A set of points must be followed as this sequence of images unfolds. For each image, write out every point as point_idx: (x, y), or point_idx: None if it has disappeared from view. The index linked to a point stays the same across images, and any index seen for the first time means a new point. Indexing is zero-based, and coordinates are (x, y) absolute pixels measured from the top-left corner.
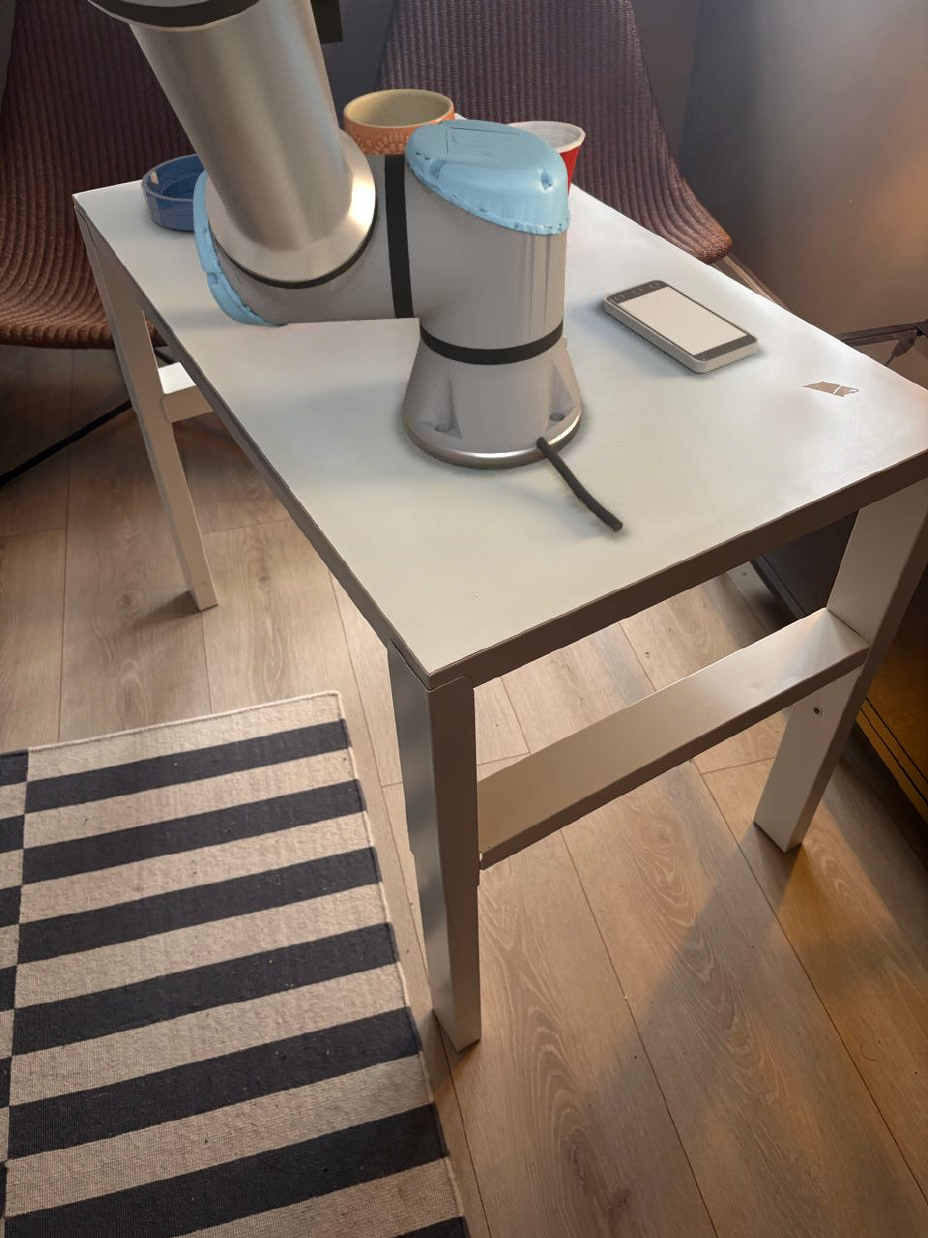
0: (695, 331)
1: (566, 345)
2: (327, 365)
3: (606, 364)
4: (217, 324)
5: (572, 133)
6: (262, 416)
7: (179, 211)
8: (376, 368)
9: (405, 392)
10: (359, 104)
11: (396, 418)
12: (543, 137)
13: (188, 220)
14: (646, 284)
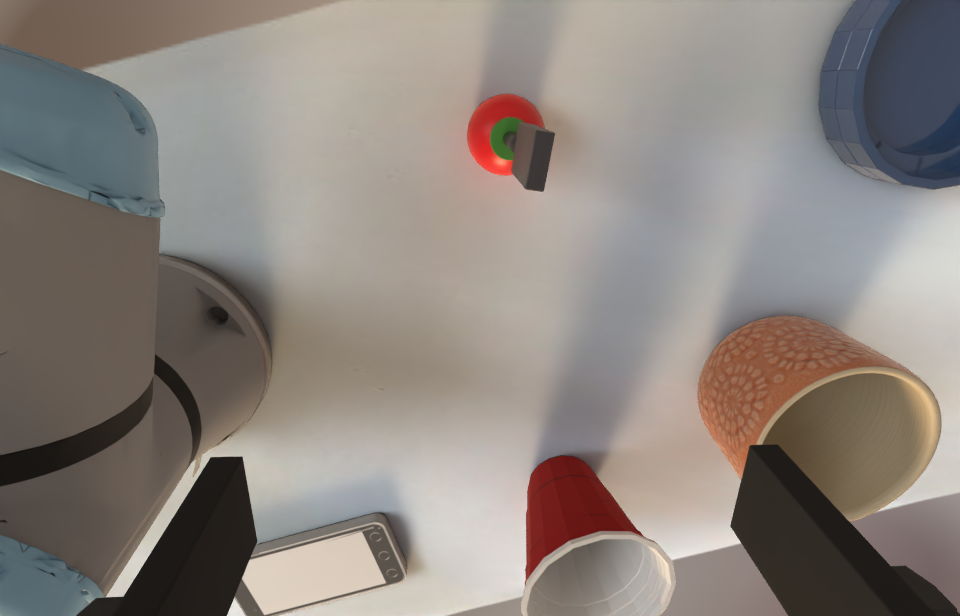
0: (282, 578)
1: (196, 471)
2: (332, 183)
3: (261, 485)
4: (500, 32)
5: None
6: (212, 69)
7: (873, 4)
8: (309, 245)
9: (159, 271)
10: (918, 395)
11: (181, 246)
12: (639, 599)
13: (853, 20)
14: (397, 566)
